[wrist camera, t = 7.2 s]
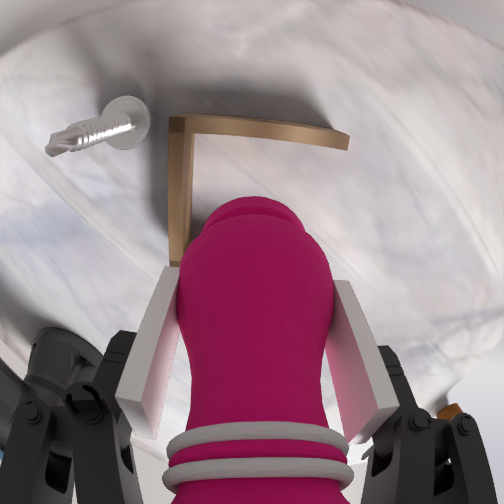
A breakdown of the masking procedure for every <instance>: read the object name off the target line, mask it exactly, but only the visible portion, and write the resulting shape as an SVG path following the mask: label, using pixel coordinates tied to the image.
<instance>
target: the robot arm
mask: <svg viewBox="0 0 504 504" xmlns="http://www.w3.org/2000/svg"><path fill="white" fill-rule="evenodd" d="M179 270H180V268H179V267H169V266H165V267H164V269H163V272H162V274H161V276H160V279H159V281H158V283H157V286H156V288H155V290H154V293H153V295H152V297H151V300H150V302H149V305H148V307H147V310H146V312H145V315H144V317H143V320H142V322H141V325H140V327H139V330H138V332H137V333H136V332H130V331H123V330H120V331H119V332H118V333H117V334H116V335H114V336H113V337H112V338H111V340H110V342H109V344H108V347H107V349H106V352H105V353H104V356H102V355H101V354H100V353H99V352H98V351H97V350H96V349H95V348H94V347H93V346H91V345H90V344H89V343H87V342H86V341H84V340H83V339H81V338H80V337H78V336H76V335H74V334H72V333H70V332H68V331H65V330H62V329H58V328H44V329H42V330H41V331H40V332H39V333H38V335H37V336H36V338H35V339H34V341H33V344H32V350H31V354H30V359H29V365H28V371H27V375H26V376H25V378H24V380H22V379H21V378H20V377H19V376H18V375H17V374H16V373H15V372H14V371H13V370H12V369H11V368H10V367H9V366H8V365H7V364H6V363H5V362H4V361H3V360H2V359H1V358H0V460H1V461H2V462H1V466H0V504H72V496H73V488H74V482H75V488H76V496H77V503H78V504H143V500H142V495H141V491H140V487H139V482H138V477H137V472H136V466H135V461H134V455H133V449H132V445H131V442H130V436H131V432H132V431H133V433H134V435H135V436H138V437H143V438H148V439H153V440H156V439H157V434H158V429H159V424H160V419H161V414H162V409H163V404H164V399H165V395H166V390H167V386H168V381H169V377H170V372H171V368H172V363H173V359H174V355H175V351H176V346H177V342H178V338H179V334H180V328H179V325H178V321H177V313H176V304H177V291H178V283H179V276H180V273H179ZM333 284H334V313H333V318H332V322H331V325H330V329H329V333H328V336H327V340H326V343H325V350H326V354H327V359H328V363H329V367H330V371H331V376H332V380H333V384H334V389H335V393H336V398H337V402H338V407H339V411H340V416H341V421H342V426H343V430H344V435H345V439H346V440H347V442H348V444H349V445H355V444H362V443H366V442H367V441H368V440H369V439H370V438H371V437H372V439H373V443H374V444H373V445H372V446H371V447H370V448H369V449H368V450H367V451H366V452H365V453H364V454H363V456H362V458H361V460H364V459H365V458H367V457H368V456H369V458H368V465H367V471H366V477H365V483H364V489H363V494H362V499H361V504H498V502H497V497H496V492H495V487H494V483H493V478H492V474H491V470H490V466H489V463H488V459H487V455H486V451H485V448H484V445H483V441H482V438H481V435H480V432H479V429H478V426H477V423H476V421H475V420H474V418H473V417H472V416H471V415H469V414H467V413H459V414H456V415H455V416H454V417H453V418H452V419H451V420H445V419H436V418H432V417H431V415H430V414H429V413H428V412H427V411H425V410H424V409H421V408H418V406H417V404H416V401H415V399H414V396H413V394H412V391H411V389H410V386H409V384H408V381H407V379H406V376H405V375H404V371H403V369H402V367H401V364H400V362H399V360H398V357H397V355H396V354H395V353H394V352H393V350H392V349H391V348H390V347H389V346H388V345H387V346H377V344H376V342H375V339H374V337H373V335H372V332H371V330H370V327H369V325H368V323H367V320H366V318H365V316H364V313H363V311H362V309H361V307H360V304H359V302H358V300H357V298H356V295H355V293H354V291H353V289H352V286H351V284H350V282H349V281H345V280H333ZM449 458H450V460H451V463H449V461H448V459H449Z"/></svg>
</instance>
